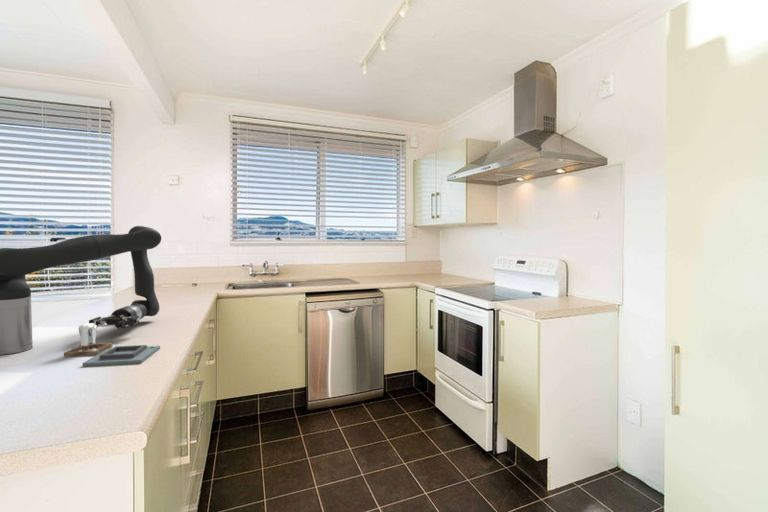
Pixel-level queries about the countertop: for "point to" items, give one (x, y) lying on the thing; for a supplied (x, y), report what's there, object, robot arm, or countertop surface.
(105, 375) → the countertop surface
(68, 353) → the square wooden frame
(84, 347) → the milkshake
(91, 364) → the port plate
